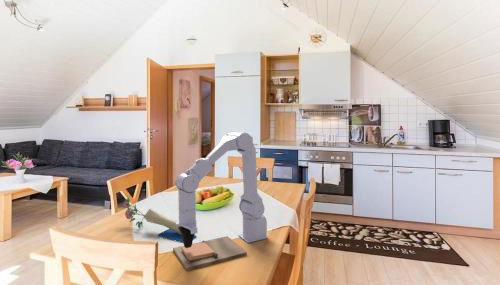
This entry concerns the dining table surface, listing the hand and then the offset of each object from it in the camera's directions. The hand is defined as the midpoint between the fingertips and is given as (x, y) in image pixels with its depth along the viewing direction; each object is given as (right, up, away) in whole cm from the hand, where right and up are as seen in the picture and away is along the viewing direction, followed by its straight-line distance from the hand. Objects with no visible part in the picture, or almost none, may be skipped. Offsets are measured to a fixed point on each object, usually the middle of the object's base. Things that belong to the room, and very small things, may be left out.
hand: (187, 246), depth 100 cm
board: (+7, -4, +4) cm, 9 cm away
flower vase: (-21, -2, +26) cm, 33 cm away
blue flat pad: (-8, -3, +19) cm, 21 cm away
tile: (+3, -2, +2) cm, 4 cm away
